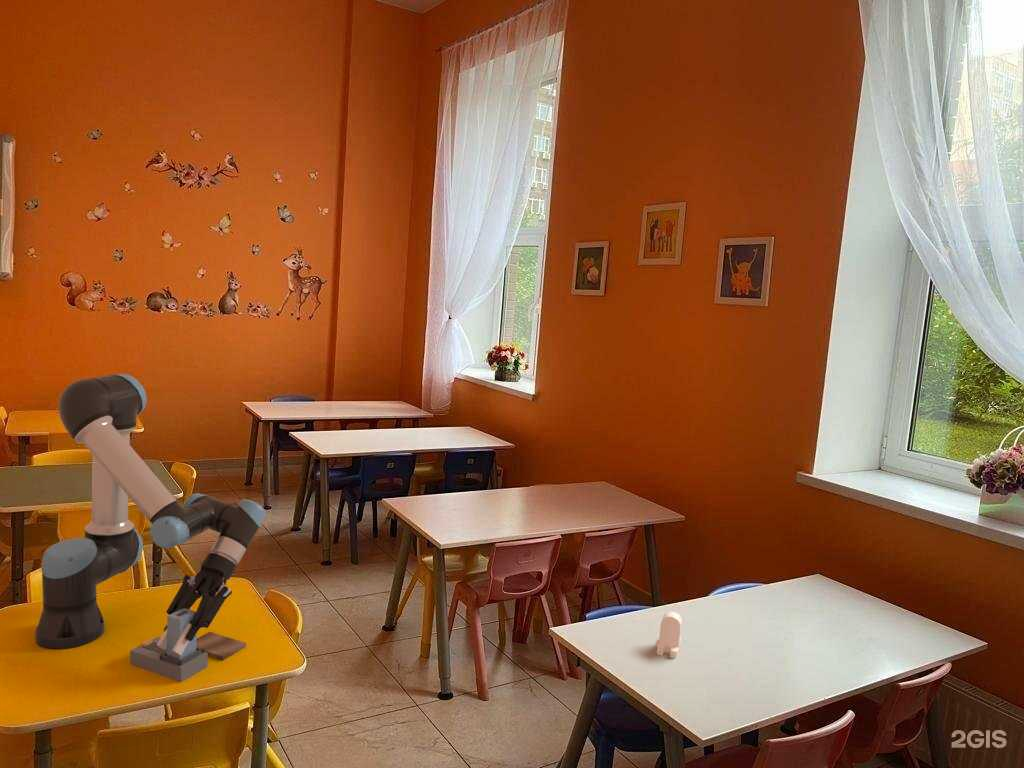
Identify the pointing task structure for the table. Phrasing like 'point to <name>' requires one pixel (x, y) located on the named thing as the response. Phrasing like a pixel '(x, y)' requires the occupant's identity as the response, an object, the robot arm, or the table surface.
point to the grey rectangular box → (167, 661)
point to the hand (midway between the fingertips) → (168, 649)
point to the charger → (179, 632)
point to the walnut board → (219, 645)
